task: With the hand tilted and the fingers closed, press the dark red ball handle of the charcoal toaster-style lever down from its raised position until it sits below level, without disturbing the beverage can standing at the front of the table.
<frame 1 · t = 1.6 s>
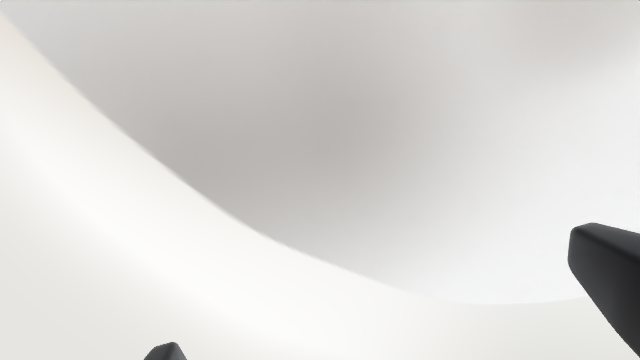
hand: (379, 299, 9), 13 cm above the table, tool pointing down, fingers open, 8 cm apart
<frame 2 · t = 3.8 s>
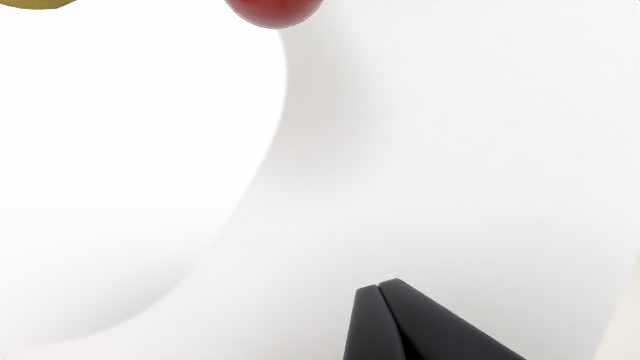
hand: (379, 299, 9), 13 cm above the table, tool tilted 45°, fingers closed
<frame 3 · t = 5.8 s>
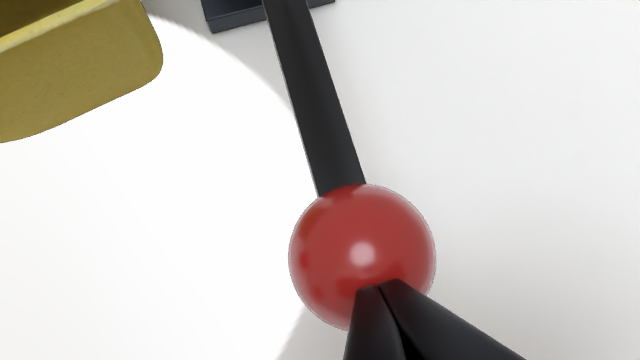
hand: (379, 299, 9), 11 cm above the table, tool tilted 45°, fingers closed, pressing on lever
flower pot: (86, 62, 22), on the table
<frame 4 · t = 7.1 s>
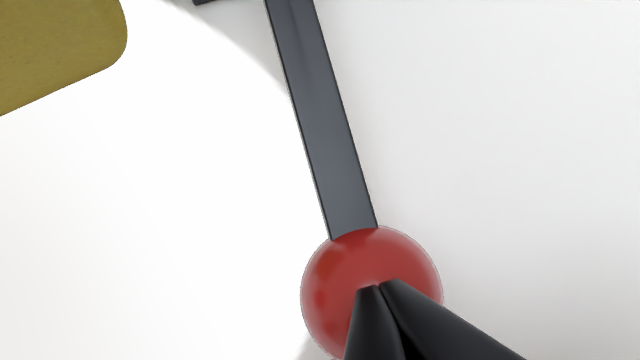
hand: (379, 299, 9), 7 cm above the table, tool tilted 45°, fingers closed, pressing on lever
flower pot: (42, 41, 19), on the table
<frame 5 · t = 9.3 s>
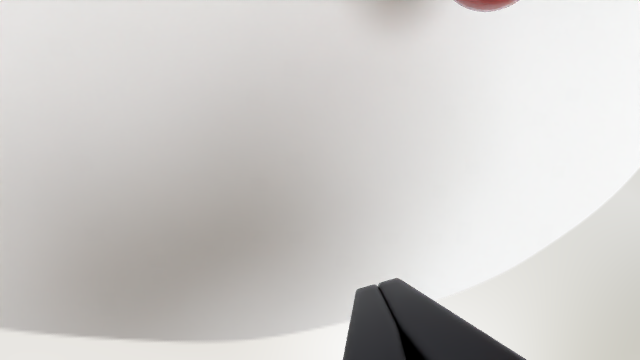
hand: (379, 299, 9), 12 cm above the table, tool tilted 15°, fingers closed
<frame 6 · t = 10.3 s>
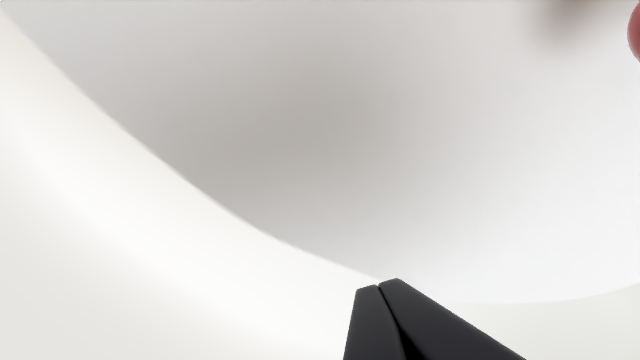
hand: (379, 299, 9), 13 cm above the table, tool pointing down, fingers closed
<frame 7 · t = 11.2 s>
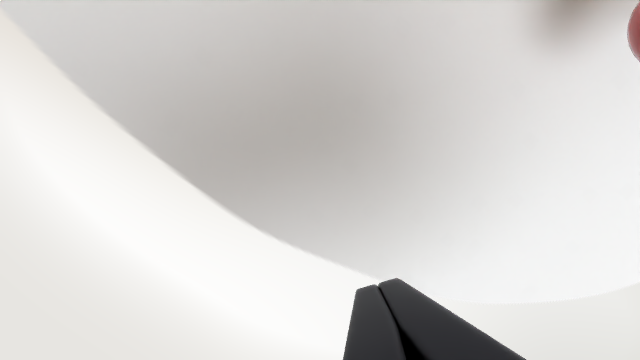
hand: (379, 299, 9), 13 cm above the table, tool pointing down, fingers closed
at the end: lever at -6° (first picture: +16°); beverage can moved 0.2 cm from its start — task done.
